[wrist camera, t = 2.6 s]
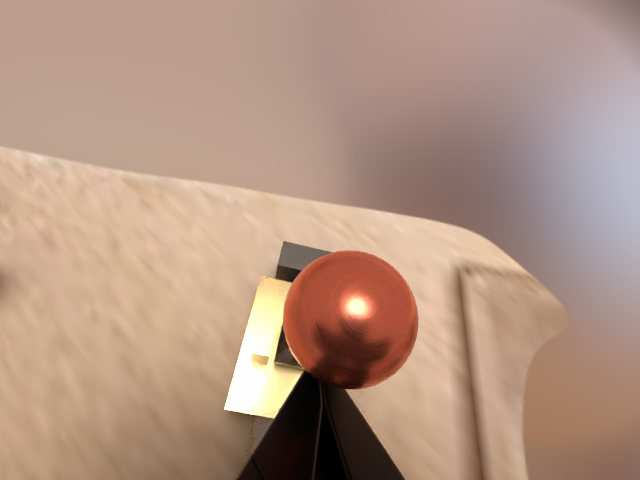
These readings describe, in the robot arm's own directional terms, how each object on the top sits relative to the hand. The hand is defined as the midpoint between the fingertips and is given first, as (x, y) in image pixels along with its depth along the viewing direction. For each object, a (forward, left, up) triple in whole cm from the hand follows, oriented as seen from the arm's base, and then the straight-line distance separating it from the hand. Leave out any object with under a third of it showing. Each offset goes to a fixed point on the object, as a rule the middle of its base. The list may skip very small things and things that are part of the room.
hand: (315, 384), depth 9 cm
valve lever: (+3, -1, -8) cm, 9 cm away
